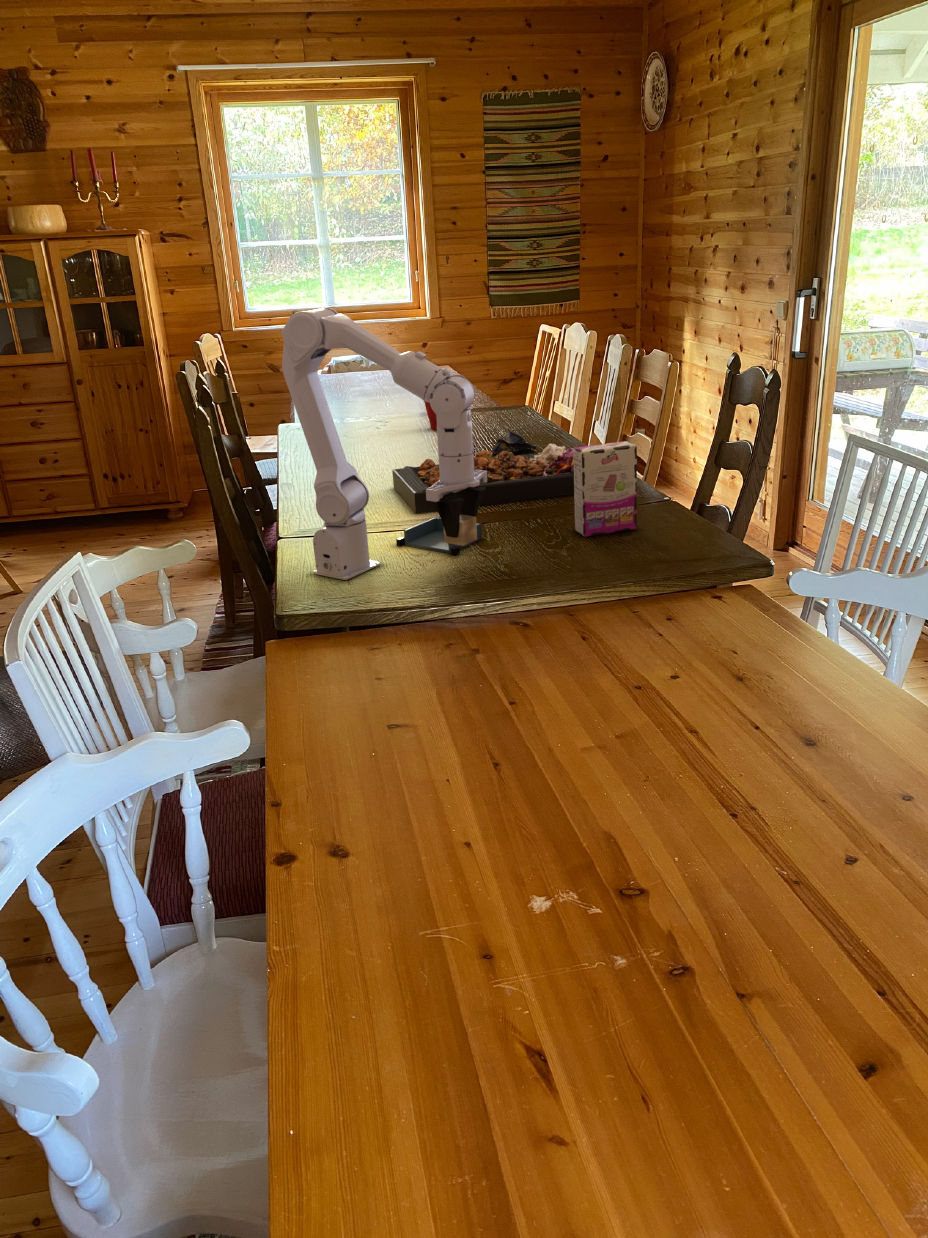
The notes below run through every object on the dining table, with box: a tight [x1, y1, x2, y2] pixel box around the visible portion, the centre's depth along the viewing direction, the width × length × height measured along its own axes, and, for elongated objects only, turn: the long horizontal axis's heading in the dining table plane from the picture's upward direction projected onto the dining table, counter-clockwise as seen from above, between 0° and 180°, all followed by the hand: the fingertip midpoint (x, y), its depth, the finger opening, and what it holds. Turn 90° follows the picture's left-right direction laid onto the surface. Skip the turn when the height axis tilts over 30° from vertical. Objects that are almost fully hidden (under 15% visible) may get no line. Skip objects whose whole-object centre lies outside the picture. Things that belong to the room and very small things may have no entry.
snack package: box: [490, 430, 537, 456], centre depth 246 cm, size 12×6×12 cm
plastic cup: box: [423, 400, 437, 431], centre depth 283 cm, size 11×11×12 cm
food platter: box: [391, 443, 578, 515], centre depth 209 cm, size 45×25×10 cm, turn 105°
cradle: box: [395, 536, 461, 557], centre depth 171 cm, size 2×14×1 cm, turn 54°
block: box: [443, 515, 477, 546], centre depth 154 cm, size 4×4×4 cm
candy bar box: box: [573, 440, 638, 538], centre depth 173 cm, size 11×5×16 cm, turn 106°
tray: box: [403, 516, 483, 554], centre depth 174 cm, size 10×11×6 cm
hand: (460, 533), depth 155 cm, fingers closed on block, 4 cm apart
